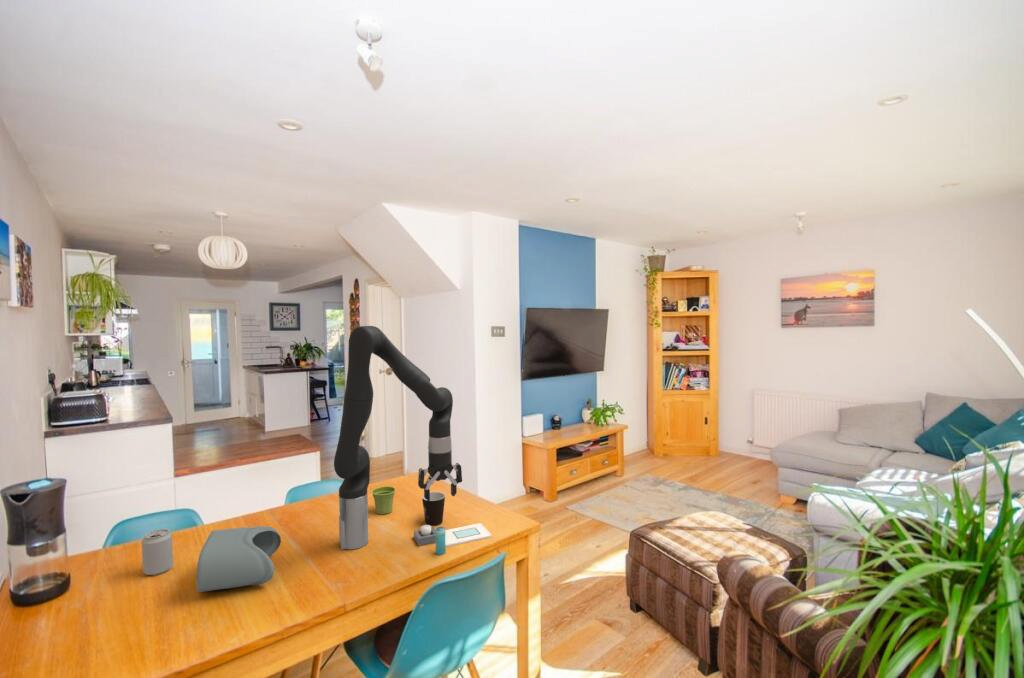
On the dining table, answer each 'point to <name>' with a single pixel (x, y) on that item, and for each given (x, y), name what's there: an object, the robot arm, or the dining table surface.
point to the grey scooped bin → (237, 558)
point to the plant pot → (383, 499)
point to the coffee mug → (434, 508)
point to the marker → (440, 540)
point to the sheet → (466, 534)
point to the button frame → (424, 537)
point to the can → (157, 552)
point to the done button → (425, 530)
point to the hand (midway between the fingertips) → (440, 497)
